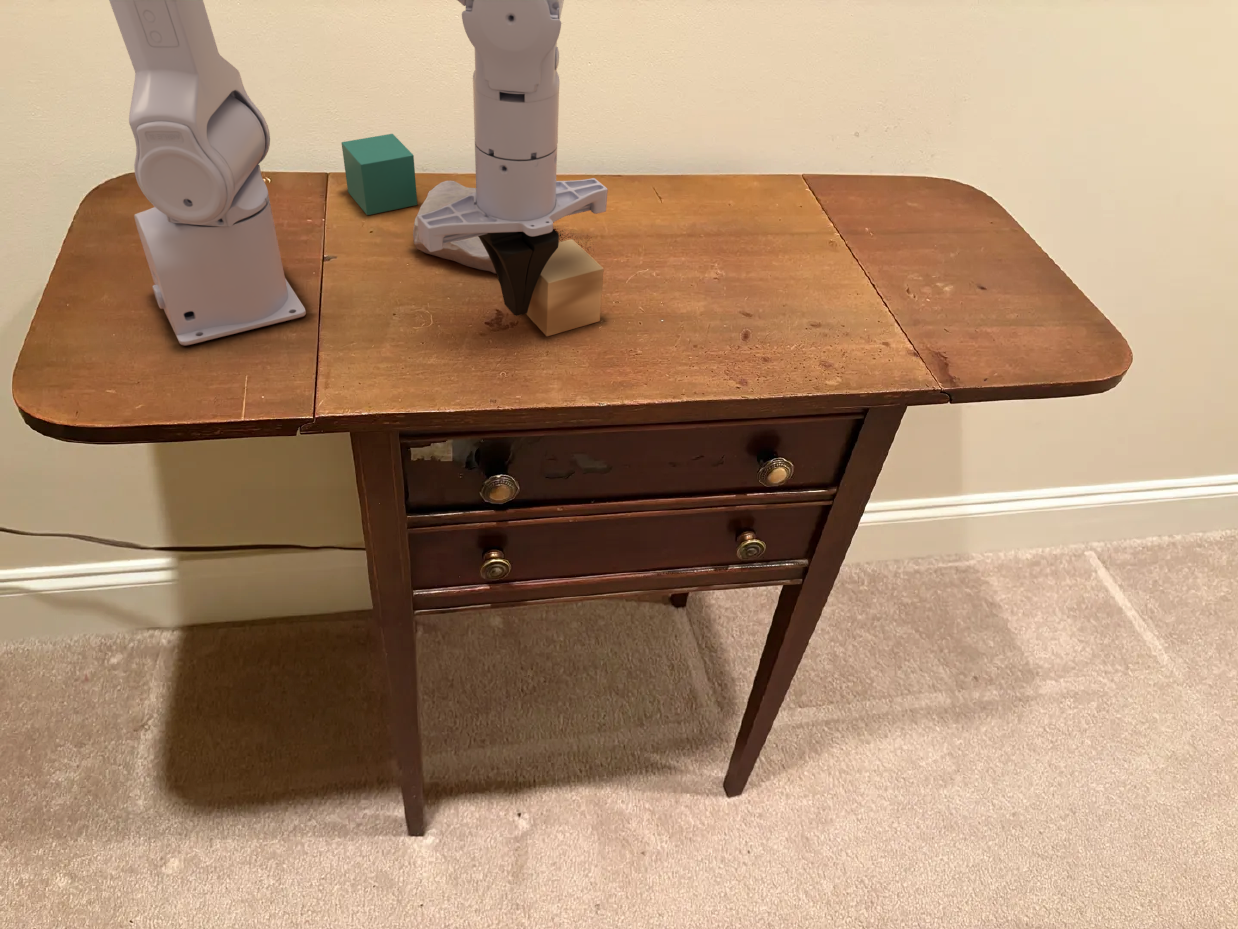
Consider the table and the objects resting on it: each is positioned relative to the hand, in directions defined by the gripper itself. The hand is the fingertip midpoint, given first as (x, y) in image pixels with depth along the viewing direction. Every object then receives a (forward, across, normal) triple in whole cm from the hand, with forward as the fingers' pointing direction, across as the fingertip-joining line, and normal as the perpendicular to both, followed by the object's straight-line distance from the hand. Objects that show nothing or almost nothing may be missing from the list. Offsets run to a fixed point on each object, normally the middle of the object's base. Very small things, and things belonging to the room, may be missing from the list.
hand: (516, 308), depth 73 cm
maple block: (+2, +4, 0) cm, 4 cm away
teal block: (+2, -2, +24) cm, 24 cm away
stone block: (+2, +3, +12) cm, 12 cm away
